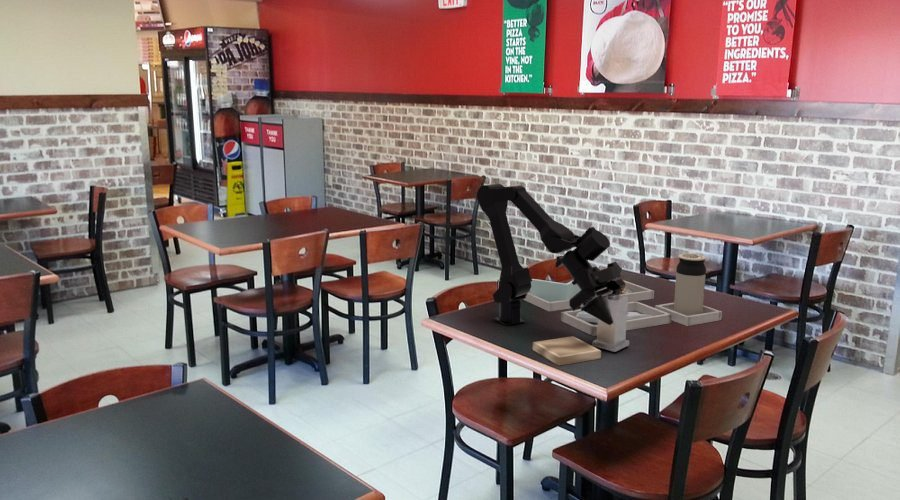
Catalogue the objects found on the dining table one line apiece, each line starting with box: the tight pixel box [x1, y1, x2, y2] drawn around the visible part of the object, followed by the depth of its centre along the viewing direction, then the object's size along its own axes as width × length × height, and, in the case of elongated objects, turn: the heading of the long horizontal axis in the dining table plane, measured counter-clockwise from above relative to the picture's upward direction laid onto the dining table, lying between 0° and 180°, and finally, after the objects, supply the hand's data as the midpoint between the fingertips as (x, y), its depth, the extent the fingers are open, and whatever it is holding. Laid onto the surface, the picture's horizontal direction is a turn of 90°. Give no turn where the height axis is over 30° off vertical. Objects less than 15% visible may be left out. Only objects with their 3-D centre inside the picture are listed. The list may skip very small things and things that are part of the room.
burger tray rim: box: [620, 280, 655, 302], centre depth 235 cm, size 17×17×2 cm
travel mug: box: [673, 253, 707, 316], centre depth 210 cm, size 8×8×18 cm
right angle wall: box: [531, 278, 581, 302], centre depth 227 cm, size 12×12×8 cm
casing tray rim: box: [560, 301, 672, 337], centre depth 207 cm, size 15×27×2 cm, turn 116°
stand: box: [532, 335, 602, 366], centre depth 181 cm, size 12×12×2 cm
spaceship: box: [575, 311, 652, 324], centre depth 208 cm, size 23×7×4 cm, turn 99°
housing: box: [591, 293, 630, 353], centre depth 184 cm, size 6×7×13 cm
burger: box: [619, 275, 634, 295], centre depth 234 cm, size 12×12×8 cm
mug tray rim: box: [654, 302, 723, 327], centre depth 212 cm, size 13×13×2 cm
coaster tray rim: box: [522, 289, 584, 312], centre depth 227 cm, size 17×17×2 cm
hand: (617, 321), depth 183 cm, fingers closed on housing, 5 cm apart
